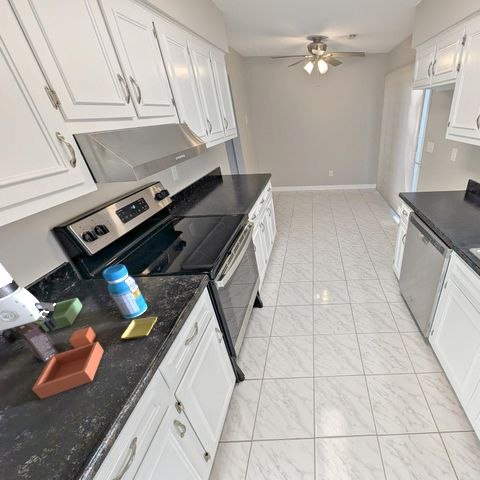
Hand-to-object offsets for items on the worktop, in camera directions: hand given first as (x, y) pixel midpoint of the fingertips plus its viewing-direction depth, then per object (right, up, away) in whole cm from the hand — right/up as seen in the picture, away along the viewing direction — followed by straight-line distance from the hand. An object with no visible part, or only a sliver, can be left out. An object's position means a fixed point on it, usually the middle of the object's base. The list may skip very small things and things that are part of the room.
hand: (35, 334), depth 79 cm
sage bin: (-11, -2, +18) cm, 22 cm away
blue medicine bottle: (+17, +1, +20) cm, 26 cm away
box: (0, -8, +4) cm, 9 cm away
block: (+9, -6, +7) cm, 13 cm away
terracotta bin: (+15, -11, -3) cm, 19 cm away
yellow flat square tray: (+26, -3, +11) cm, 28 cm away
